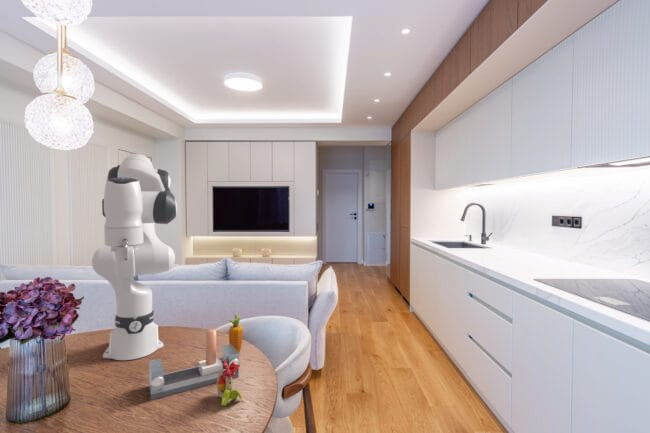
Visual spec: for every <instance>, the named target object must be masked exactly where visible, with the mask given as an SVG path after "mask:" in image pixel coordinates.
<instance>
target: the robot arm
mask: <svg viewBox="0 0 650 433" xmlns="http://www.w3.org/2000/svg"><path fill="white" fill-rule="evenodd" d="M171 185H172V179H171V177H170V175H169V172H168V171H167V170H164V169H161V168H157V169H156V168H154V165H153V163H152V161H151V159H150V158H149V157H147V155H144V154H141V153H132V154H130V155H127V157H126V158H124V160H123V161H122V162H121V163H120V164H118V165H117V166H114V167H111V169H109V171H108V173H107V175H106V182H105V186H104V192H103V194H104V195H103V198H102V200H101V206H102V207H101V209H102V216H103V217H104V218H105V223H104V228H103V229H104V246H102V247H100V248H98V249H97V250H96V251H95V252H94V254H93V255H92V257H91V266H92V269H93V271H94V272H95V273H96V274H97V275H99V276H101V277H102V278H104V279H105V280H106V281H107V282H108V283H109V284H110V286H111V287H112V289H113V290H114V293H115V299H116V300H115V301H116V314H115V318H114V326H115V328H114V329H113V330H112V331H111V332H110V333H109V335H108V336H109V337H108V338H109V343H108V347H107V348H106V349H105V351H104V352H103V354H102V359H112V360H115V361H131V360H136V359H141V358H144V357H146V356H147V357H148V356H149V355H151V354H153V353H154V352H155V351H157V350H160V349H161V348H163V347H164V346H165V345H164V342H163V341H161V340H160V339H159V326H158V325H157V324H156V323H155V322H154V319H155V314H154V312H155V311H154V310H153V290H152V288H150V287H149V286H148V285H145V284H143V283H141V282H138V281H136V280H135V279H134V278H135V276H138V275H139V276H141V275H157V274H161V273H165V272H169V271H170V270H171V269H172V268H173V266H174V265H175V262H176V253H175V251H174V249H173V248H172V247H171V246H170V245H168V244H166V243H164V242H163V241H162V240H161V239H160V238H159V237H158V236H157V233H156V224H157V225H160V224H161V225H168V224H169V223H171V222H172V221H173V220H174V219H176V216H177V213H178V203H177V200H176V197H175V195H174V194H173V193H172V192H171V189H170V188H171Z"/></svg>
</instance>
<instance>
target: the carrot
mask: <svg viewBox="0 0 650 433" xmlns="http://www.w3.org/2000/svg"><path fill="white" fill-rule="evenodd" d="M234 318H235V319H234V320H232V319H229V320H228V322H230V323H231V324H232V325H231V326H230V327H229V330H228V342H229V344H232V345H233V346H234V348H235V349H236V350H237V351H238V353H239V354H240V352H241V349H242V344H243V335H244V326H243V325H240V324H239V323H240V321H241V317H240V316H238V314H234ZM229 344H228V345H229Z"/></svg>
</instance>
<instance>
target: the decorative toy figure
mask: <svg viewBox="0 0 650 433" xmlns="http://www.w3.org/2000/svg"><path fill="white" fill-rule="evenodd" d="M223 365H224V366H225V367H226V369H224V370H221V371H220V372H219V374H218V377H217V383H216V389H217V397H219V398H221V404H220V405H221V406H224V407H226V406H227V405H228V403H229V401H230V400H237V399H238V398H239V399H240V400H241V399H243V397H242V394H241V392H240V391H239V390H238V389H233V379H232V376H236V374H235V371H236V370H237V369H238V368H240V367H241V364H239V365H237V364H235V362H232V363H231V364H230V366H228V364H227V362H226V360H225V361H224V363H223Z"/></svg>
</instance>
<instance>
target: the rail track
mask: <svg viewBox="0 0 650 433" xmlns="http://www.w3.org/2000/svg"><path fill="white" fill-rule="evenodd" d="M221 347H222V349H221V350H222V352H221V355H222V356H221V359H220V360H221V362H222V363H224V361H225V360H226V362H227V364H228V366H230V364H231V363H232V362H235V364H237V365H240V360H239V359H240V352H239V353H238V351H237V350H236V349H235V348H234V346H233V345H232V344H224V345H222V346H221ZM148 367H149V368H148V371H149V372H148V374H149V375H148V378H149V379H148V389H149V395H150V400H151V401H153V400H158V399H161V398H164V397H168V396H172V395H175V394H180V393H183V392H187V391H191V390H195V389H199V388H202V387H205V386H209V385H213V384H217V377H218V374H219V372H217V373H213V374H209V375H205V376H201V374H200V372H199V365H196V366H191V367H186V368H183V369H177V370H175V371H170V372H165V369H164V365H163V362H162V358H157V359H156V358H155V359H151V360H149V366H148ZM239 368H240V367H239ZM239 368H238V369H237V370H236V371H235V374H236V376H232V380H233V379H236V378H239V372H240V371H239ZM224 369H226V367H225V366H224V365H223V370H224Z"/></svg>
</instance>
